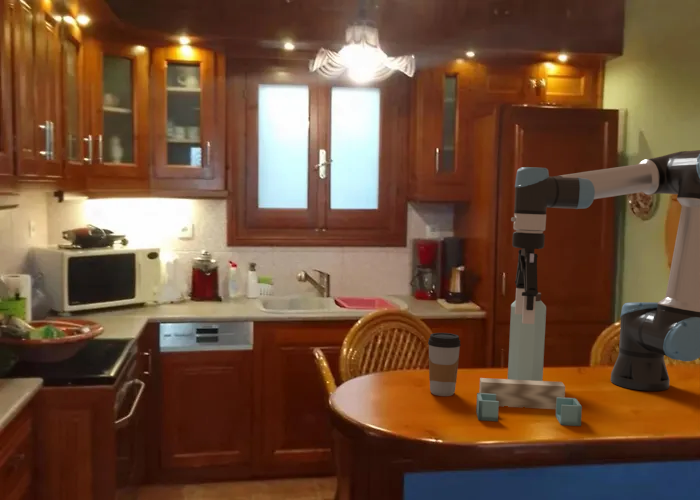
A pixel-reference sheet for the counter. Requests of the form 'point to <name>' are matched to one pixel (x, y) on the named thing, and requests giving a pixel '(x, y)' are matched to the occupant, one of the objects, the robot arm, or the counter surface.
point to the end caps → (565, 409)
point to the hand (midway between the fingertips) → (524, 318)
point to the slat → (523, 392)
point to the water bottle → (527, 344)
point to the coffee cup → (443, 363)
